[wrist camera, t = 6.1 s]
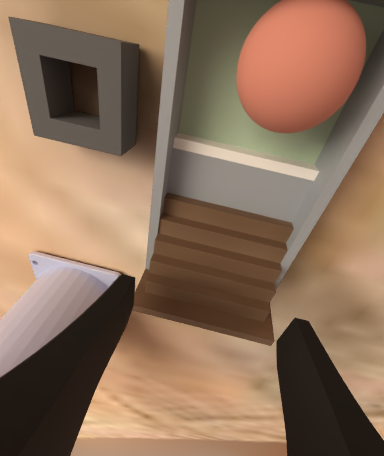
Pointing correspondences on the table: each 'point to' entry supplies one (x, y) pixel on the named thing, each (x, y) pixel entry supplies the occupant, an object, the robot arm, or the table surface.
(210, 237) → the walnut step ramp
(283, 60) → the brick-red rubber ball
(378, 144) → the table surface
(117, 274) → the robot arm
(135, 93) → the square tube segment
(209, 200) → the slate lane
